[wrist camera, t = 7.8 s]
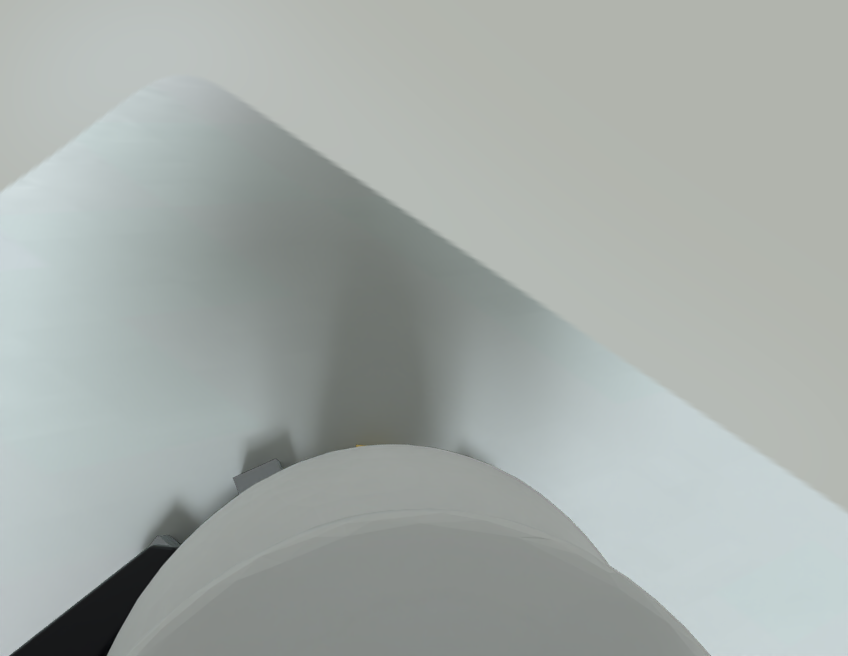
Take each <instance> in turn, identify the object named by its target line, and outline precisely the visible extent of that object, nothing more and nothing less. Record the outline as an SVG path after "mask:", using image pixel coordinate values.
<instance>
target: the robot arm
mask: <svg viewBox="0 0 848 656" xmlns="http://www.w3.org/2000/svg"><path fill="white" fill-rule="evenodd" d="M178 548H179V547H177V546H170V545H161V544H154V545H151V546H149V547H148V548H146V549H145V550H144V551H143V552H141V553H140V554H139V555H137V556H136V557H135V558H134V559H132V560H131V561H130V562H128V563H127V564H126V565H125V566H123V567H122V568H121V569H120V570H118V571H117V572H116V573H114V574H113V575H112V576H111V577H109V578H108V579H107V580H105V581H104V582H103V583H102V584H100V585H99V586H98V587H97V588H95V589H94V590H93V591H91V592H90V593H89V594H88V595H86V596H85V597H84V598H82V599H81V600H80V601H79V602H77V603H76V604H75V605H73V606H72V607H71V608H70V609H68V610H67V611H66V612H65V613H63V614H62V615H61V616H59V617H58V618H57V619H56V620H54V621H53V622H52V623H50V624H49V625H48V626H47V627H45V628H44V629H43V630H42V631H40V632H39V633H38V634H36V635H35V636H34V637H33V638H31V639H30V640H29V641H27V642H26V643H25V644H24V645H22V646H21V647H20V648H19V649H17V650H16V651H15V652H13V653H12V654H11V655H10V656H107V654H108V652H109V650H110V648H111V646H112V644H113V642H114V640H115V638H116V636H117V634H118V632H119V631H120V629H121V627H122V626H123V624H124V622H125V620H126V619H127V617H128V615H129V613H130V612H131V610H132V608H133V606H134V605H135V603H136V601H137V600H138V598H139V597H140V595H141V594H142V592H143V591H144V590H145V588H146V587H147V586H148V584H149V583H150V582H151V580H152V579H153V578H154V576H155V575H156V574H157V572H158V571H159V570H160V568H161V567H162V566H163V565H164V563H165V562H166V561H167V560H168V559H169V558H170V557H171V556H172V555H173V553H174V552H175V551H176V550H177V549H178Z"/></svg>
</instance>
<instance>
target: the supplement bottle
mask: <svg viewBox="0 0 848 656" xmlns="http://www.w3.org/2000/svg"><path fill="white" fill-rule="evenodd" d="M107 656H711V655H710V654H709V653H708V652H707V651H706V650H705V649H704V648H703V646H702V645H701V644H700V643H699V642H698V641H697V640H696V639H695V637H694V636H693V635H692V634H691V633H690V632H689V631H688V630H687V628H686V627H685V626H684V625H683V624H681V623H680V622H679V621H678V620H677V619H676V618H675V617H674V616H673V615H672V614H671V613H670V612H669V611H668V610H666V609H665V608H664V607H663V606H662V605H661V604H660V603H659V602H658V601H657V600H656V599H655V598H653V597H652V596H651V595H649V594H648V593H647V592H646V591H644V590H643V589H642V588H641V587H639V586H638V585H637V584H635V583H634V582H633V581H632V580H630V579H629V578H628V577H626V576H625V575H623V574H621V573H620V572H618V571H617V570H615V569H614V568H612V567H611V566H610V565H609V564H608V563H607V561H606V560H605V559H604V557H603V556H602V555H601V553H600V552H599V551H598V550H597V548H596V547H595V546H594V545H593V544H592V542H591V541H590V540H589V539H588V537H587V536H586V535H585V534H584V533H583V532H582V531H581V530H580V529H579V528H578V527H577V526H576V525H575V524H574V523H573V522H572V520H571V519H570V518H569V517H567V516H566V515H565V514H564V513H563V512H562V511H561V510H559V509H558V508H557V507H556V506H555V505H554V504H552V503H551V502H550V501H549V500H548V499H546V498H545V497H544V496H543V495H541V494H540V493H539V492H537V491H536V490H534V489H533V488H531V487H530V486H528V485H527V484H525V483H524V482H522V481H521V480H519V479H517V478H516V477H514V476H512V475H510V474H508V473H506V472H504V471H502V470H500V469H498V468H496V467H494V466H492V465H489V464H487V463H484V462H482V461H479V460H476V459H474V458H471V457H468V456H465V455H461V454H458V453H454V452H451V451H446V450H442V449H437V448H433V447H424V446H415V445H407V444H386V445H369V446H359V447H354V448H348V449H343V450H338V451H332V452H328V453H325V454H322V455H319V456H316V457H313V458H310V459H307V460H304V461H301V462H298V463H296V464H294V465H292V466H290V467H287V468H285V469H283V470H281V471H279V472H277V473H275V474H273V475H271V476H270V477H268V478H266V479H264V480H262V481H260V482H258V483H256V484H254V485H253V486H251V487H250V488H248V489H247V490H245V491H244V492H242V493H240V494H239V495H238V496H237V497H235V498H234V499H233V500H231V501H230V502H229V503H227V504H226V505H225V506H224V507H222V508H221V509H220V510H218V511H217V512H216V513H215V514H214V515H212V516H211V517H210V518H209V519H208V520H206V521H205V522H204V523H203V524H202V525H201V526H200V527H199V528H198V529H197V530H196V531H195V532H194V533H193V534H192V535H191V536H190V537H189V538H188V539H187V540H186V541H185V542H184V543H183V544H182V545H181V546H180V547H179V548H178V549H177V550H176V551H175V552H174V553H173V555H172V556H171V557H170V558H169V559H168V560H167V561H166V562H165V563H164V565H163V566H162V567H161V568H160V570H159V571H158V572H157V574H156V575H155V576H154V578H153V579H152V580H151V582H150V583H149V584H148V586H147V587H146V588H145V590H144V591H143V592H142V594H141V595H140V597H139V598H138V600H137V601H136V603H135V605H134V606H133V608H132V610H131V612H130V613H129V615H128V617H127V619H126V620H125V622H124V624H123V626H122V627H121V629H120V631H119V632H118V634H117V636H116V638H115V640H114V642H113V644H112V646H111V648H110V650H109V652H108V654H107Z"/></svg>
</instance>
